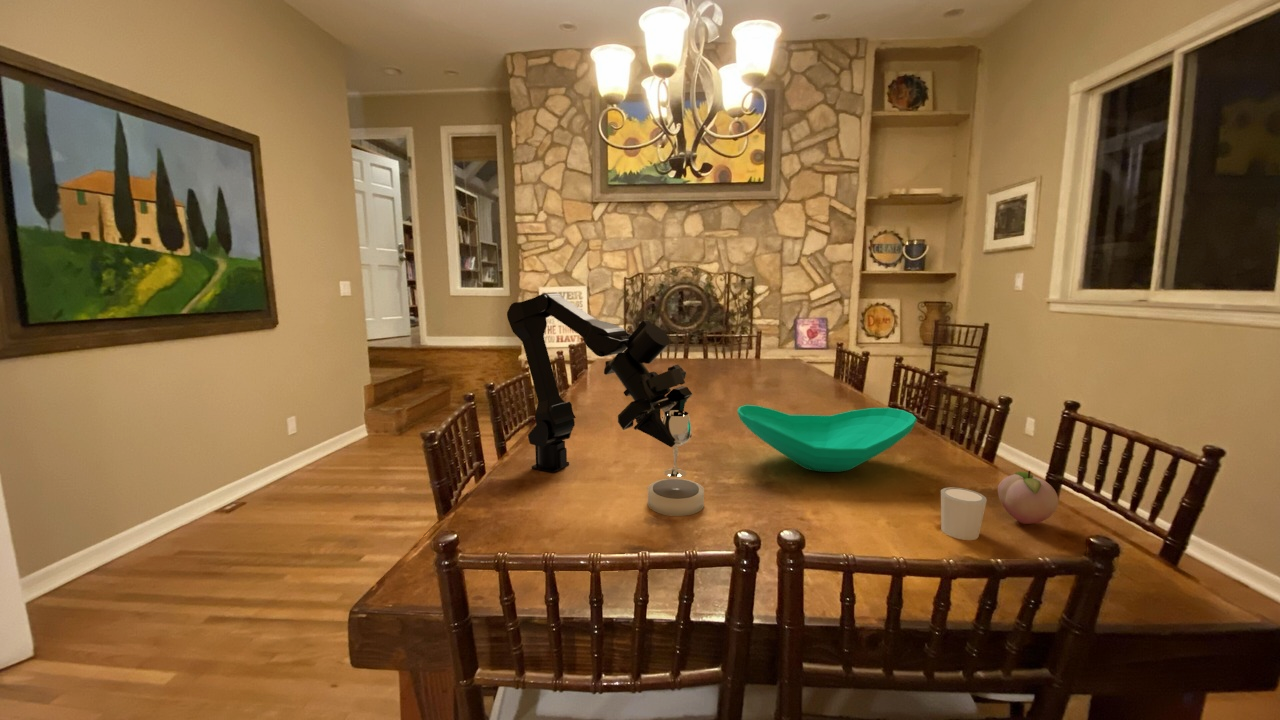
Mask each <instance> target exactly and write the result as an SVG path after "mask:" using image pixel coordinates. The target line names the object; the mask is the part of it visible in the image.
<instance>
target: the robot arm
mask: <svg viewBox="0 0 1280 720" xmlns="http://www.w3.org/2000/svg"><path fill="white" fill-rule="evenodd" d="M506 317H507V321H508V323H509V326H510V328H511V331H512V333H514V335H515V336H517V338H518V339H519V340H520V341H521V343H522V345H523V349H524V352H525V357H526V360H527V365H528V368H529V372H530V376H531V380H532V384H533V388H534V390H535V394H536V398H537V406H536V408H535V409H536V410H535V414H534V418H535V425H534V427H533V428H532V430H531V431H530V432H529V433H528V434H527V438H528V441H529V444H530V445H533V446H534V447H535V464H533V465H531V469H533V470H539V471H543V472H547V473H556V472H558V471H560V470H562V469H563V468H566V467H567V466H569V465H570V462H569V461H568V460H567V459H568V458H567V447H566V441H565V440H569V439H570V438H571V434H572V431H573V429H574V428H575V423H576V422H575V419H576V416H575V413H574V411H573V405H572V403H571V401H570V400H569V401H565V400H564V399H563V398H562V397H561V396H560V393H559V389H558V386H557V382H556V377H555V375H554V370H553V367H552V362H551V360H550V359H551V358H550V356H549V352H548V348H547V345H546V344H547V343H546V341H545V333H546V329H547V326H548V322H547V318H549V317H553V318H554V319H556V320H557V321H558V322H560V323H562V324H564V326H566V327H567V328H569V329H571V330H572V331H573V332H575V333H577V334H578V335H579V336H580V337H581V338H582V339H583V341H584V344H585V345H586V347H587V348H588V349H589V350H590V351H591V352H592V353H594V354H595V355H596V356H597V357H608V356H609V357H610V356H614V357H613V358H612V359H610V360H607V361H605V365H604V369H603V374H604V375H605V376H607V375H610V374H615V375H616V377H617V378H618V380H619V381H620V383H622V386H623V387H624V388H625V390H624V391H623V395H625V397H629V396H631V398H632V399H633V400H632V401H630V403H628V404H627V405H626V407H625V408H624V409H623V410H622V411H621V412H620V413H618V415H617V423H618V424H619V426H620V428H621V429H622V430H623V431H624V430H627V429H630V428H633V429H634V430H635V431H637V430H638V431H639V432H642V433H645V434H646V435H648V436H650V437H652V438H654V439H656V440H657V441H659V442H661V443H662V444H664V445H665V446H668V447H670V448H672V447H673V448H674V445H675V442H674V440H673V438H672V436H671V435H670V433H669V431H668V430H667V428H666V427H665V425H664V423H663V422H662V419H663V416H661V411H662V412H663V413H664V412H666V411H670V410H681V411H685V404H686V403H687V401H688V399H689V398H691V397H692V396H693V393H692V392H691V390H690V388H689V387H688V386H682V385H684V384H686V382H685V378H686V376H687V372H686V371H685V370H684V369H683V367H681V366H680V365H679V364H674V365H672V366H669V367H667V371H665V372H662V373H659V374H658V373H657V372H656V371H651V372H650V371H649V370H648V368H647V367H646V366H645V364H648V365H649V364H652V363H653V362H654V361H655V359H657V358H658V356H659V355H660V354H661V353H662V352H663V351H665V349H666V348H667V347H668V346H669V345H670V341H671V340H670V337H669V335H668V334H667V332H666V331H665V330H664V329H662V328H661V327H660V326H657V325H655V324H654V323H652V322H651V321H650V320H649V319H647V320H645V319H644V320H642V321H641V322H640V323H639V324H638V326H637V328H636V329H635V330H634V331H633V332H632V333H629V332H627V331H626V329H624V328H623V327H622V326H619V325H617V324H614V323H612V322H607V321H604V320H599V319H597V318H595V317H593V316H592V315H590V314H588V313H587V312H586V311H585V310H583V309H581V308H579V307H578V306H576V305H575V304H573V303H572V302H571V301H568V300H567V299H565V298H564V297H563V295H562V294H560V293H557V292H544V293H541V294H539V295H537V296H535V297H532V298H529V299H527V300H523V301H515V302H512V303H511V304H510V305H509V307H508V309H507V312H506ZM678 385H681V386H678ZM677 386H678V387H677ZM671 388H672V389H671ZM661 417H662V418H661ZM634 421H635V423H636V425H635V426H634ZM691 438H692V434H691V435H690V438H689V439H691Z"/></svg>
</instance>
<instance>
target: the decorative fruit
mask: <svg viewBox="0 0 1280 720" xmlns="http://www.w3.org/2000/svg"><path fill="white" fill-rule="evenodd" d="M997 495H998V498H999V501H1000V503H1001V506H1003V508H1004V510H1005V511H1006V513H1008V514H1009V515H1010V516H1012V518H1014V519H1015V520H1016V521H1018V522H1019V523H1021V524H1023V525H1030V524H1032V525H1033V524H1038V523H1042V522H1044V521H1047V520H1048V519H1050V518H1051V517H1052V515H1053V514H1054V513H1055V512H1056V510H1057V509H1058V506H1059V497H1058V493H1057V492H1056V490H1055V489H1054V487H1053V486H1052V485H1051V484H1050V483H1048V482H1047V481H1046V480H1044V479H1042V478H1040V477H1037V476H1034V475H1033V474H1031V470H1028V471H1027V472H1024V471H1016V472H1015V473H1014V474H1010V475H1008V476H1005V477H1004V478H1003V479H1002V480H1001V481H1000V483H998V486H997Z"/></svg>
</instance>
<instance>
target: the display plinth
mask: <svg viewBox="0 0 1280 720" xmlns="http://www.w3.org/2000/svg"><path fill="white" fill-rule="evenodd" d="M704 501H705V488H704V487H703V486H702V485H701V484H700V483H697V482H696V481H693V480H690V479H684V478H663V479H659V480H656V481H653V482H652V483H650V484H649V485H648V487H647V506H648V508H649V509H650V508H651V509H652V510H651V509H650V510H651V511H653V512H655V513H657V514H660V515H664V516H668V517H669V516H670V517H686V516H691V515H695V514H696V513H697V514H698V513H699V512H701V511H702V510H703V509H704V506H705V502H704Z"/></svg>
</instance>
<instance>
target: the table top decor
mask: <svg viewBox="0 0 1280 720" xmlns="http://www.w3.org/2000/svg"><path fill="white" fill-rule="evenodd" d="M736 411H737V414H738V418H739V420H740V421H741V422H742V423H743V424H744V425H745V426H746V428H747V429H749V431H750V432H751V433H753V434H754V435H756V437H758V438H759V439H760V440H762V441H763V442H764V443H765V444H767V445H769V446H771V447H772V448H773V449H774V450H776V451H777V452H779V453H780V454H782V455H784V457H786V458H788V459H789V460H791V461H792V462H794V463H796V464H797V465H799V466H800V467H801V468H804V469H806V470H810V471H813V472H820V473H821V472H822V473H825V472H826V473H832V472H833V473H836V472H837V473H842V472H846V471H849V470H851V469H854V468H856V467H858V466H859V465H862V464H863V463H865V462H867V461H868V460H871V459H873V458H874V457H877V456H879V455H880V454H882V453H884V452H885V451H887V450H888V449H890V448H891V447H893V446H894V445H896V444H897V443H898V442H900V441H901V440H902V439H903V438H905V437H906V436H908V435H909V434H910V433H911V431H913V428H914V426H915V424H916V423H917V420H918V418H917V417H916V416H915V415H914V414H913V413H910V412H908V411H906V410H904V409H898V408H894V407H893V408H892V407H870V408H869V407H868V408H860V409H855V410H853V409H852V410H849V411H845V412H841V413H836V414H832V415H831V414H830V415H822V414H821V415H817V414H816V415H815V414H814V415H812V414H788V413H785V412H782V411H779V410H775V409H773V408H770V407H769V408H768V407H764V406H759V405H755V404H754V405H753V404H752V405H751V404H745V405H741V406H739V407H738V408H737V410H736Z"/></svg>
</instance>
